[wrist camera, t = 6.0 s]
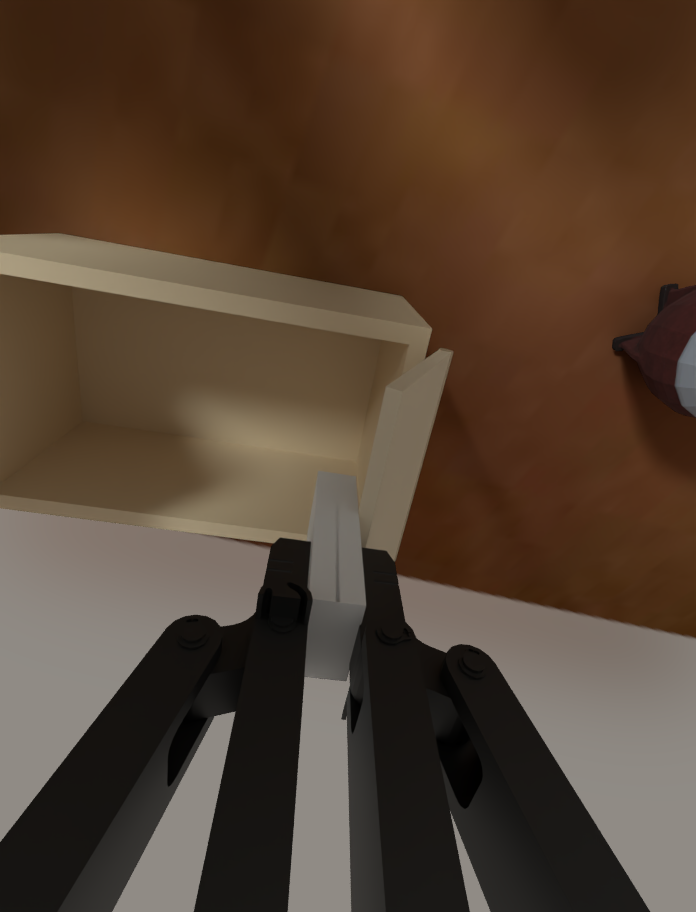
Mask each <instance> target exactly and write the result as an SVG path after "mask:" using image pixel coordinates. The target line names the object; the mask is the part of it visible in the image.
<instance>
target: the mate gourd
mask: <svg viewBox="0 0 696 912" xmlns="http://www.w3.org/2000/svg"><path fill="white" fill-rule="evenodd" d="M612 348H613V350H615V351H623V350H625V351H626V352H627V354H628V355H629V356H630V357H631V358H632V359H634V360H635V361H637V363H638V366H639V369H640V371H641V374H642V376H643V378H644V380H645V383H646V385H647V387H648V388H649V389H650V391H651V392H652V393H653V394H654V395H655V396H656V397H657V398H659V399H660V400H661V401H662V402H664V403H665V404H666V405H667V406H669V407H670V408H671V409H672V410H674V411H675V412H677V413H680V414H683V415H685V416H690V417H695V418H696V285H694V286H689V287H685V288H681V289H678V284H668V285H664V286H662V287H661V291H660V297H659V306H658V315H657V316H656V317H655V318H654V319H653V320H652V322H651V323H650V324H649V325H648V326H647V328H646V330H645V332H642V333H636V334H631V335H626V336H621V337H617V338H614V340H613V345H612Z"/></svg>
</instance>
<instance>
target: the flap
mask: <svg viewBox="0 0 696 912" xmlns="http://www.w3.org/2000/svg"><path fill="white" fill-rule="evenodd" d="M453 352H454V351H452V350H450V349H446V348H439V350H438V351H436V352H435V353H433V354H432V355H431V356H429V357H428V358H426V359H425V360H423V361H422V362H420V363H419V364H418V365H416V366H415V367H413V368H412V369H410V370H409V371H408V372H406V373H405V374H403V375H402V376H400V377H399V378H397V379H396V380H395V381H393V382H392V383H390V384H389V385H387V386H386V388H385V393H384V397H383V402H382V407H381V411H380V416H379V420H378V425H377V429H376V434H375V438H374V443H373V447H372V452H371V457H370V461H369V466H368V470H367V475H366V479H365V484H364V488H363V493H362V498H361V502H360V507H359V511H358V514H359V522H360V535H361V547H362V548H370V549H377V550H385V551H387V552H388V553H389V555H390V556H391V558H392V559H393V560H394V562H395V561H396V558H397V554H398V551H399V547H400V543H401V540H402V536H403V533H404V529H405V525H406V522H407V518H408V515H409V511H410V507H411V504H412V500H413V496H414V493H415V489H416V486H417V482H418V478H419V475H420V471H421V468H422V464H423V460H424V457H425V453H426V450H427V446H428V442H429V439H430V435H431V432H432V428H433V424H434V421H435V417H436V414H437V410H438V406H439V403H440V399H441V396H442V392H443V388H444V385H445V381H446V378H447V374H448V370H449V367H450V363H451V360H452V356H453Z"/></svg>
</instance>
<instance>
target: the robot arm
mask: <svg viewBox="0 0 696 912" xmlns="http://www.w3.org/2000/svg"><path fill="white" fill-rule="evenodd" d="M358 511H359V510H358V498H357V486H356V476H350V475H344V474H337V473H331V472H324V471H318V475H317V480H316V486H315V492H314V498H313V503H312V509H311V515H310V520H309V526H308V533H307V541H303V540H295V539H288V538H279V539H278V540H277V541H276V542H275V543H274V544H273V545H272V546H271V549H270V554H269V559H268V564H267V569H266V574H265V579H264V584H263V586H262V587H261V589H260V591H259V593H258V600H257V608H256V612H255V613H254V615H253V616H251V617H250V618H249V619H248V620H246V621H243V622H241V623H238V624H235V625H230V626H223V627H220V626H219V625H218V623H217V622H216V621H215V620H213V619H211V618H209V617H207V616H201V615H191V616H185V617H182V618H180V619H178V620H175V621H174V622H173V623H172V624H171V625H169V626H168V627H167V628H166V630H165V631H164V632H163V634H162V635H161V636H160V637H159V639H158V640H157V641H156V643H155V644H154V645H153V646H152V648H151V649H150V650H149V651H148V653H147V654H146V655H145V657H144V658H143V659H142V661H141V662H140V663H139V664H138V666H137V667H136V668H135V670H134V671H133V672H132V673H131V675H130V676H129V677H128V679H127V680H126V681H125V682H124V684H123V685H122V686H121V687H120V689H119V690H118V691H117V693H116V694H115V695H114V697H113V698H112V699H111V701H110V702H109V703H108V704H107V705H106V707H105V708H104V709H103V711H102V712H101V713H100V714H99V716H98V717H97V718H96V720H95V721H94V722H93V724H92V725H91V726H90V727H89V729H88V730H87V731H86V733H85V734H84V735H83V736H82V738H81V739H80V740H79V742H78V743H77V744H76V745H75V747H74V748H73V749H72V751H71V752H70V753H69V754H68V756H67V757H66V758H65V760H64V761H63V762H62V764H61V765H60V766H59V767H58V769H57V770H56V771H55V772H54V774H53V775H52V776H51V778H50V779H49V780H48V781H47V783H46V784H45V785H44V787H43V788H42V789H41V791H40V792H39V793H38V794H37V796H36V797H35V798H34V799H33V801H32V802H31V803H30V805H29V806H28V807H27V809H26V810H25V811H24V812H23V814H22V815H21V816H20V818H19V819H18V820H17V821H16V823H15V824H14V825H13V827H12V828H11V829H10V830H9V832H8V833H7V834H6V836H5V837H4V838H3V839H2V841H1V842H0V912H112V911H113V909H114V907H115V905H116V903H117V901H118V899H119V898H120V896H121V894H122V892H123V890H124V888H125V886H126V884H127V882H128V880H129V879H130V877H131V875H132V873H133V871H134V869H135V867H136V865H137V863H138V861H139V859H140V858H141V856H142V854H143V852H144V850H145V848H146V846H147V844H148V842H149V840H150V839H151V837H152V835H153V833H154V831H155V829H156V827H157V825H158V823H159V821H160V819H161V818H162V816H163V814H164V812H165V810H166V808H167V806H168V804H169V802H170V800H171V799H172V797H173V795H174V793H175V791H176V789H177V787H178V785H179V783H180V781H181V779H182V777H183V776H184V774H185V772H186V770H187V768H188V766H189V764H190V762H191V760H192V759H193V757H194V755H195V753H196V751H197V749H198V747H199V745H200V743H201V741H202V739H203V738H204V736H205V734H206V732H207V730H208V728H209V726H210V724H211V722H212V720H213V718H214V716H217V715H221V714H226V713H230V712H235V711H236V712H235V717H234V722H233V727H232V732H231V736H230V741H229V746H228V751H227V756H226V760H225V765H224V770H223V775H222V779H221V784H220V789H219V794H218V799H217V803H216V808H215V813H214V818H213V823H212V827H211V832H210V837H209V842H208V846H207V851H206V856H205V861H204V865H203V870H202V875H201V880H200V885H199V889H198V894H197V899H196V904H195V909H194V912H287V911H288V897H289V884H290V870H291V855H292V841H293V828H294V813H295V798H296V785H297V772H298V758H299V744H300V730H301V717H302V703H303V689H304V677H312V678H320V679H330V680H340V681H346V680H347V677H348V673H349V670H350V687H349V691H348V695H347V698H346V702H345V706H344V710H343V714H342V719H343V720H346V717H347V738H348V778H349V779H348V782H349V821H350V822H349V826H350V869H351V909H352V910H351V912H470V911H469V905H468V900H467V895H466V890H465V886H464V880H463V875H462V870H461V865H460V860H459V854H458V850H457V844H456V839H455V834H454V829H453V824H452V819H451V814H452V816H453V819H454V821H455V824H456V826H457V829H458V831H459V834H460V836H461V839H462V841H463V843H464V846H465V849H466V851H467V854H468V856H469V859H470V861H471V864H472V866H473V869H474V871H475V874H476V876H477V878H478V881H479V884H480V886H481V889H482V891H483V894H484V896H485V899H486V901H487V904H488V906H489V909H490V911H491V912H650V911H649V909H648V908H647V906H646V904H645V903H644V901H643V899H642V898H641V896H640V895H639V893H638V891H637V890H636V888H635V887H634V885H633V883H632V882H631V880H630V879H629V877H628V875H627V874H626V872H625V871H624V869H623V867H622V866H621V864H620V863H619V861H618V859H617V858H616V856H615V855H614V853H613V851H612V850H611V848H610V846H609V845H608V843H607V842H606V840H605V839H604V837H603V835H602V834H601V832H600V830H599V829H598V827H597V826H596V824H595V823H594V821H593V819H592V818H591V816H590V814H589V813H588V811H587V810H586V808H585V807H584V805H583V803H582V802H581V800H580V799H579V797H578V795H577V794H576V792H575V790H574V789H573V787H572V786H571V784H570V783H569V781H568V779H567V778H566V776H565V774H564V773H563V771H562V770H561V768H560V767H559V765H558V763H557V762H556V760H555V759H554V757H553V755H552V754H551V752H550V750H549V749H548V747H547V746H546V744H545V742H544V741H543V739H542V738H541V736H540V735H539V733H538V731H537V730H536V728H535V726H534V725H533V723H532V722H531V720H530V718H529V717H528V715H527V714H526V712H525V710H524V709H523V707H522V706H521V704H520V703H519V701H518V699H517V698H516V696H515V694H514V693H513V691H512V690H511V688H510V686H509V685H508V683H507V682H506V680H505V678H504V677H503V675H502V674H501V672H500V670H499V669H498V667H497V666H496V664H495V663H494V661H493V660H492V659H491V658H490V657H489V656H488V655H487V654H486V653H484V652H483V651H482V650H480V649H478V648H475V647H473V646H470V645H462V644H460V645H456V646H453V647H451V649H449V651H448V652H447V653H445V652H443V651H440V650H437V649H435V648H432V647H430V646H428V645H426V644H424V643H422V642H421V641H419V640H418V639H417V638H416V636H415V634H414V632H413V630H412V629H411V627H410V626H409V625H408V624H407V623H406V622H405V618H404V612H403V606H402V601H401V595H400V589H399V586H398V578H397V572H396V567H395V562H394V560H393V559H392V558H391V556H390V555H389V553H388V552H387V551H385V550H377V549H370V548H362V547H361V535H360V522H359V514H358ZM450 811H451V814H450Z"/></svg>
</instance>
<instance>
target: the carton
mask: <svg viewBox="0 0 696 912" xmlns="http://www.w3.org/2000/svg"><path fill="white" fill-rule="evenodd" d="M431 332H432V328H431V327H430V326H429V325H428V324H427V323H426V321H425V320H424V319H423V318H422V317H421V316H420V315H419V314H418V313H417V312H416V311H415V309H414V308H413V307H412V306H411V305H410V304H409V303H408V302H407V301H406V300H405V298H404V297H403V296H399V295H394V294H388V293H383V292H377V291H372V290H367V289H361V288H356V287H350V286H345V285H339V284H334V283H328V282H323V281H317V280H312V279H307V278H301V277H296V276H290V275H285V274H279V273H274V272H268V271H263V270H258V269H252V268H247V267H241V266H236V265H230V264H225V263H219V262H214V261H208V260H203V259H198V258H192V257H187V256H181V255H176V254H170V253H165V252H159V251H154V250H149V249H143V248H138V247H132V246H127V245H121V244H116V243H110V242H105V241H99V240H94V239H89V238H83V237H78V236H72V235H67V234H61V233H50V234H15V235H0V508H3V509H11V510H18V511H26V512H34V513H41V514H50V515H57V516H65V517H73V518H80V519H88V520H96V521H104V522H111V523H119V524H127V525H135V526H143V527H150V528H158V529H166V530H174V531H182V532H189V533H197V534H205V535H213V536H221V537H228V538H236V539H244V540H252V541H260V542H268V543H275V542H276V541H277V540H278V539H279V538H288V539H295V540H303V541H307V533H308V526H309V520H310V515H311V509H312V503H313V498H314V492H315V486H316V480H317V475H318V471H324V472H331V473H337V474H344V475H350V476H356V486H357V498H358V510H359V507H360V502H361V498H362V493H363V488H364V484H365V479H366V475H367V470H368V466H369V461H370V457H371V452H372V447H373V443H374V438H375V434H376V429H377V425H378V420H379V416H380V411H381V407H382V402H383V397H384V393H385V388H386V386H387V385H389V384H390V383H392V382H393V381H395V380H396V379H397V378H399V377H400V376H402V375H403V374H405V373H406V372H408V371H409V370H410V369H412V368H413V367H415V366H416V365H418V364H419V363H420V362H422V361H423V360H425V356H426V352H427V348H428V344H429V340H430V336H431Z"/></svg>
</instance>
